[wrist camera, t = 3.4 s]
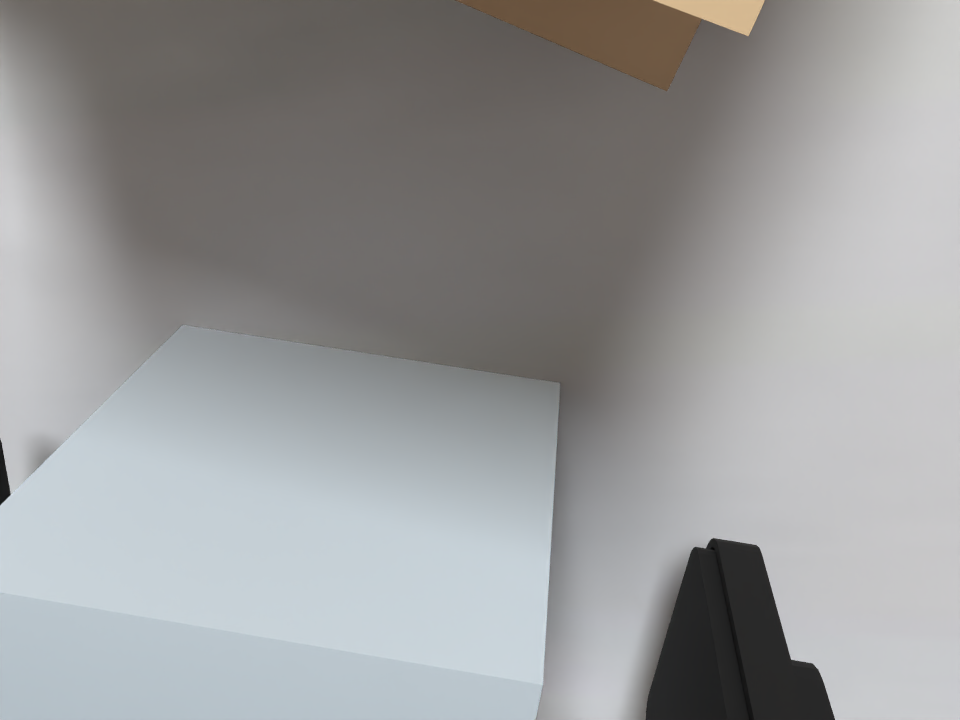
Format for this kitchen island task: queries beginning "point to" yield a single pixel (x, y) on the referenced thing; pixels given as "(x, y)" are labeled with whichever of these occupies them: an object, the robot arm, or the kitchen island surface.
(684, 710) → the robot arm
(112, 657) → the cube
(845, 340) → the kitchen island surface
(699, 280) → the kitchen island surface
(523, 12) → the bottom block
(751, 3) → the top block
